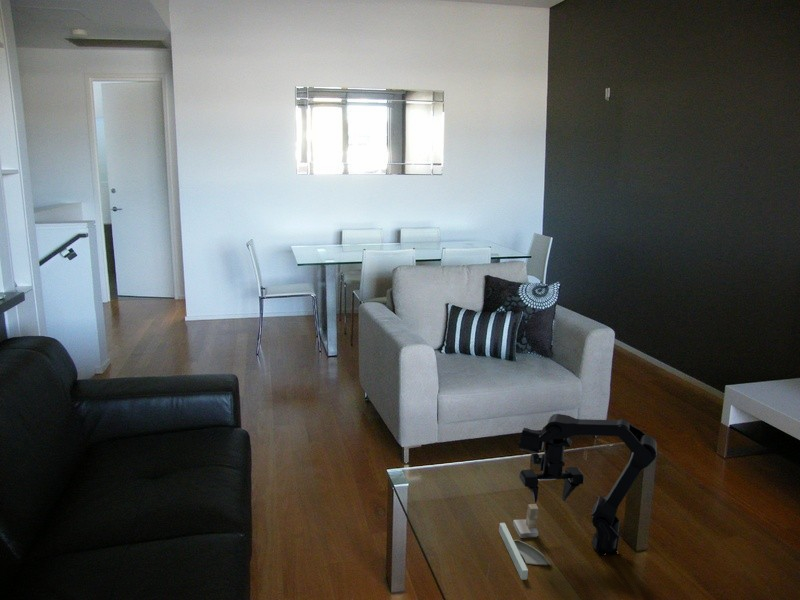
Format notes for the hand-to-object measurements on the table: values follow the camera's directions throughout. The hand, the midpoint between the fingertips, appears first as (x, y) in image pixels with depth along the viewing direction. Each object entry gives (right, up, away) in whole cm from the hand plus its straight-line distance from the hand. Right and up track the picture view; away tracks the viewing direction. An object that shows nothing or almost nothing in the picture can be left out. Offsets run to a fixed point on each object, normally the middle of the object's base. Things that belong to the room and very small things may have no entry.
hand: (549, 501), depth 202 cm
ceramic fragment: (-8, -14, -8) cm, 18 cm away
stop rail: (-13, -13, -8) cm, 20 cm away
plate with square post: (-7, -10, +4) cm, 13 cm away
